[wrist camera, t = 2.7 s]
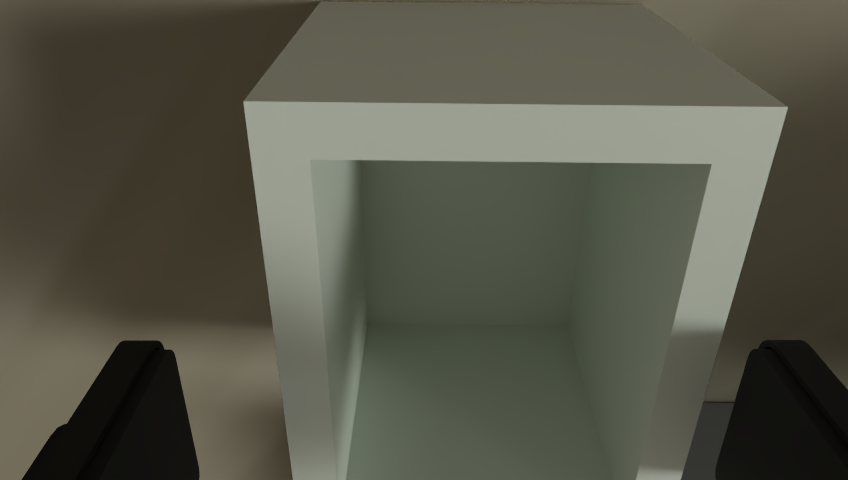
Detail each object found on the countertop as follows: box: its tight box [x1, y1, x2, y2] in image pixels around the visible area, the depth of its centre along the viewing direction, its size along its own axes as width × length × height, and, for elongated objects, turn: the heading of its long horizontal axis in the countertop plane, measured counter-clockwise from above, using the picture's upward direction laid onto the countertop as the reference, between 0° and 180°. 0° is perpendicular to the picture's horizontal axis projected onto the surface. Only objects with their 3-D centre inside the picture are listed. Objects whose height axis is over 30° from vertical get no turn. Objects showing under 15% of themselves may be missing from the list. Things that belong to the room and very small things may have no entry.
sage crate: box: [243, 1, 788, 480], centre depth 14 cm, size 9×7×7 cm
